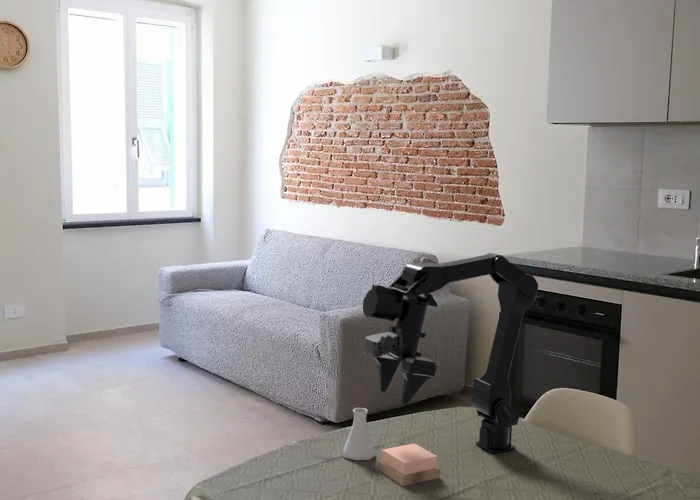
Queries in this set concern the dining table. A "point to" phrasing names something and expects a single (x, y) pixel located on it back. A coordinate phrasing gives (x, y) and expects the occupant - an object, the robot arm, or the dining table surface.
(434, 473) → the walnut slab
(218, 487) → the dining table surface
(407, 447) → the terracotta slab
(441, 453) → the dining table surface
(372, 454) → the flask
